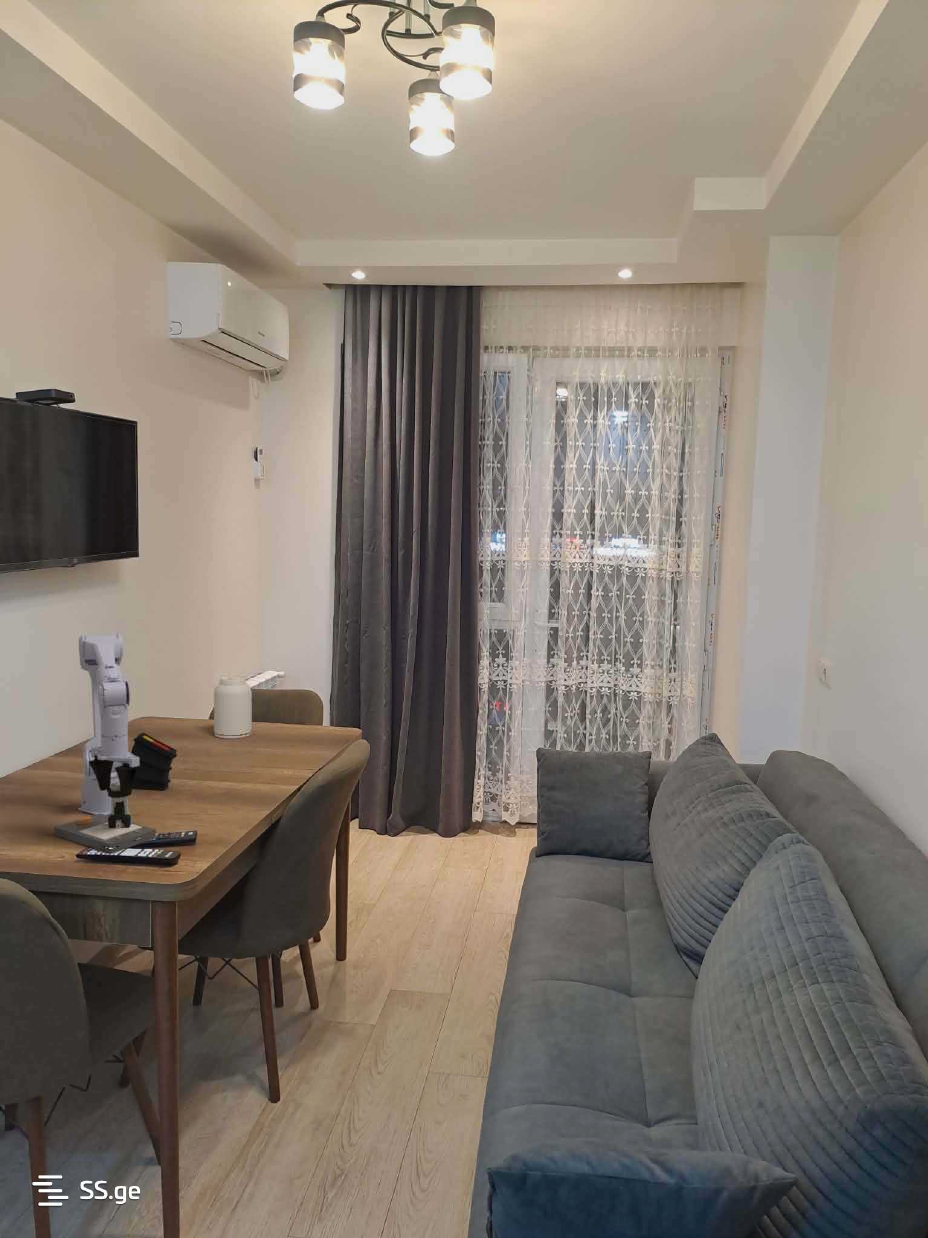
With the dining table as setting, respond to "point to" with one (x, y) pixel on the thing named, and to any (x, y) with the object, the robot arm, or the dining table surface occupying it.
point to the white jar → (232, 707)
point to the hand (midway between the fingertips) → (115, 792)
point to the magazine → (152, 763)
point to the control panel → (103, 833)
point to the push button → (118, 809)
